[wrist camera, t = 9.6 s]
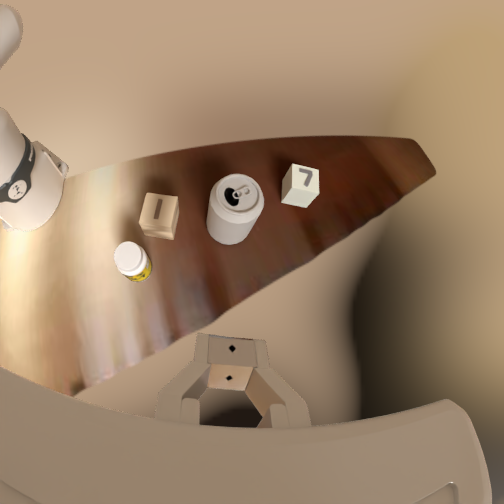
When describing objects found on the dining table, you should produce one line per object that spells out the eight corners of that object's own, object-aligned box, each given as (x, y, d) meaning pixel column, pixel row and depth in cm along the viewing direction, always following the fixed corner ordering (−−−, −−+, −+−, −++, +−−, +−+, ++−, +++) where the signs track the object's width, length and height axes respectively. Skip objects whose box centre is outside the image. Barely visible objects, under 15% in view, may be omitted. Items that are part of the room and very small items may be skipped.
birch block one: (145, 235, 43) (138, 221, 37) (151, 208, 45) (146, 191, 39) (173, 239, 44) (170, 226, 38) (179, 212, 45) (177, 196, 40)
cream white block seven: (281, 202, 50) (292, 186, 44) (282, 180, 51) (292, 162, 46) (306, 207, 51) (319, 193, 45) (306, 185, 52) (318, 169, 46)
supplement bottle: (125, 283, 40) (110, 273, 32) (124, 255, 41) (111, 239, 34) (153, 282, 41) (144, 271, 33) (152, 253, 43) (143, 237, 35)
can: (200, 211, 46) (203, 175, 35) (240, 200, 48) (255, 164, 37) (214, 251, 45) (221, 225, 33) (255, 238, 47) (275, 210, 36)
